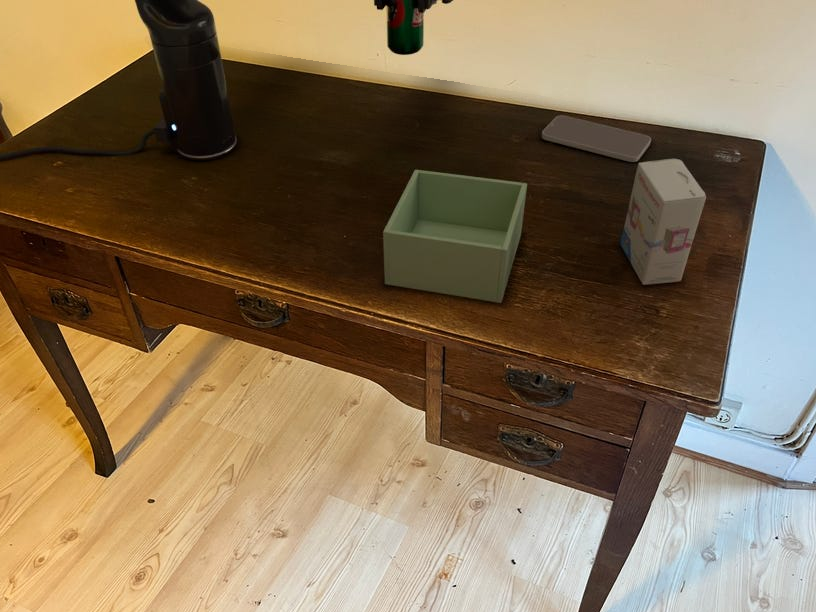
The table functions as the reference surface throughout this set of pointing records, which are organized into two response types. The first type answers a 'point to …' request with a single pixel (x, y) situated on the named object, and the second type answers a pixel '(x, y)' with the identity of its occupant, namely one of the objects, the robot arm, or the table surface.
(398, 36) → the soda can
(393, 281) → the open storage box
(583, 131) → the smartphone
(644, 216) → the ink box
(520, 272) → the table surface
